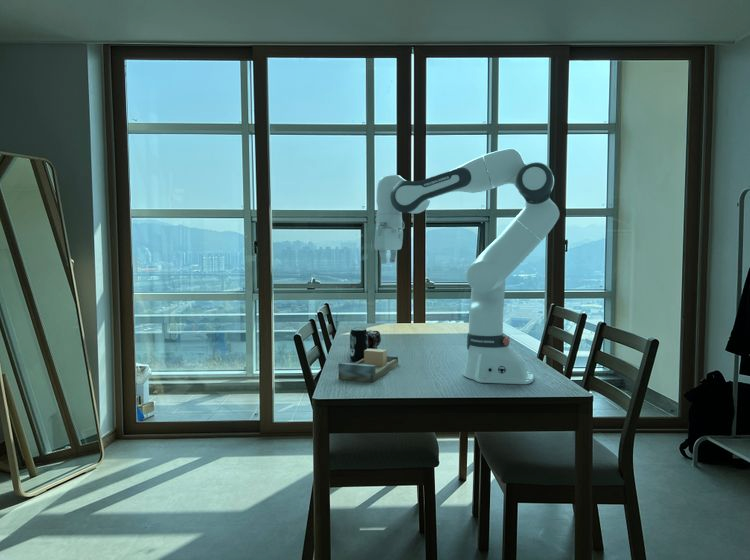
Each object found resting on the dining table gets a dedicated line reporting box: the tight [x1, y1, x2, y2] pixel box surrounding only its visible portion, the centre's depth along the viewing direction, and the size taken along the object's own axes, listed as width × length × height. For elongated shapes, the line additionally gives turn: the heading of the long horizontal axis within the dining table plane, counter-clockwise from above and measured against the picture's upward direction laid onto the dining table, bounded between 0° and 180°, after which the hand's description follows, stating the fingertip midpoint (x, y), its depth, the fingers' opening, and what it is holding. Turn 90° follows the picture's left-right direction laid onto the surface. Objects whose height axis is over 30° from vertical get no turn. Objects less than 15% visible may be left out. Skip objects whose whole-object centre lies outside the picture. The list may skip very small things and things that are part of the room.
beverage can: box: [349, 327, 368, 363], centre depth 195 cm, size 7×7×12 cm
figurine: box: [367, 329, 382, 349], centre depth 207 cm, size 10×10×18 cm
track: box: [338, 355, 399, 383], centre depth 178 cm, size 12×26×5 cm, turn 160°
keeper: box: [364, 348, 388, 366], centre depth 183 cm, size 7×4×5 cm, turn 70°
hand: (388, 263), depth 180 cm, fingers open, 8 cm apart
